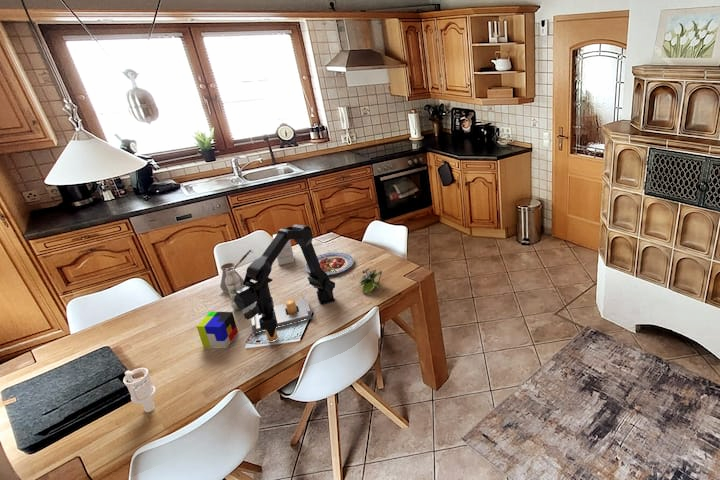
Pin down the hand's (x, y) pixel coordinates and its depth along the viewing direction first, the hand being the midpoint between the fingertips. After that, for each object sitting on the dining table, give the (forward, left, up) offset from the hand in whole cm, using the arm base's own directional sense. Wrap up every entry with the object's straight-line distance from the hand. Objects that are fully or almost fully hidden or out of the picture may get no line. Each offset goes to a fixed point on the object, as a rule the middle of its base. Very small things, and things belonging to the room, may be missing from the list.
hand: (271, 330), depth 156 cm
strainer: (+42, +20, -4) cm, 47 cm away
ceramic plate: (-35, -51, -5) cm, 62 cm away
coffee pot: (+11, -54, -4) cm, 55 cm away
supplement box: (-14, -70, -4) cm, 71 cm away
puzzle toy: (+20, -9, -4) cm, 22 cm away
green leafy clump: (-48, -19, -4) cm, 52 cm away
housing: (-5, -14, -4) cm, 15 cm away
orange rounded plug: (0, 0, -4) cm, 4 cm away
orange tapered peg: (-10, -14, -4) cm, 18 cm away
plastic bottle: (+12, -30, -4) cm, 33 cm away
